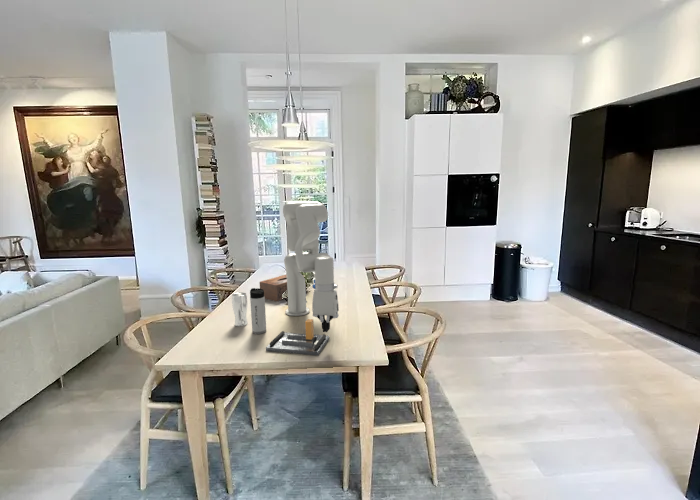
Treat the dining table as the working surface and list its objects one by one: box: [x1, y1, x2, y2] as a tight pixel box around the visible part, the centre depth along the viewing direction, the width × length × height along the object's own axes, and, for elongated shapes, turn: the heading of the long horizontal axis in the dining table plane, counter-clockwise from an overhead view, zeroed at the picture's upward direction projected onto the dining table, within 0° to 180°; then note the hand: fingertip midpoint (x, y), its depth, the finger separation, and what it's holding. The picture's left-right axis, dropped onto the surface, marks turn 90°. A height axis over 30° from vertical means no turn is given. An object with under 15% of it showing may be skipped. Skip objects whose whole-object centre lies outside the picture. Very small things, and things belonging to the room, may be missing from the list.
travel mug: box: [249, 287, 267, 335], centre depth 165 cm, size 6×7×20 cm
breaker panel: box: [265, 331, 330, 356], centre depth 152 cm, size 16×22×3 cm
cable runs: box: [269, 330, 327, 350], centre depth 152 cm, size 13×20×1 cm, turn 77°
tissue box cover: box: [259, 274, 287, 302], centre depth 225 cm, size 26×14×10 cm, turn 145°
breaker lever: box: [304, 318, 315, 342], centre depth 150 cm, size 4×3×9 cm
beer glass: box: [231, 291, 248, 327], centre depth 175 cm, size 7×7×15 cm
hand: (325, 330), depth 148 cm, fingers closed
